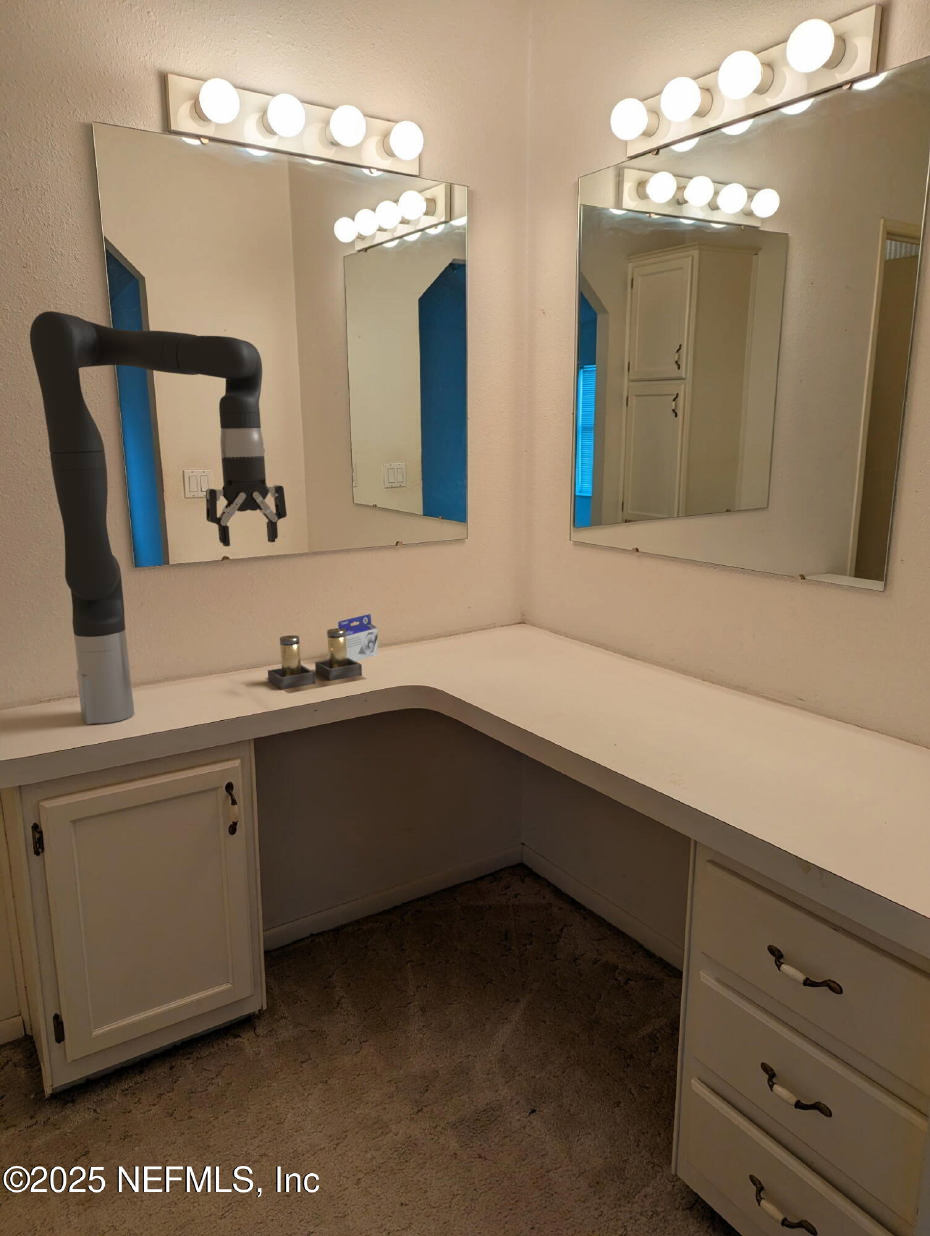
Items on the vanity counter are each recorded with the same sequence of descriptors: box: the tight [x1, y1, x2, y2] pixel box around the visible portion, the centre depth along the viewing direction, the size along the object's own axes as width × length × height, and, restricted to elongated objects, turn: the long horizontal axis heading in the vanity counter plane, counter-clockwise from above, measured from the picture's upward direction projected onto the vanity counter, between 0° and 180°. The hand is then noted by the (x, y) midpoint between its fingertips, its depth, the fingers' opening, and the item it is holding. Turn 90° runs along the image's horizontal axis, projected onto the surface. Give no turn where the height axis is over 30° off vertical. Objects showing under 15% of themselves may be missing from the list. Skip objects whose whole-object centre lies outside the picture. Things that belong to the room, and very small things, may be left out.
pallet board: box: [265, 658, 368, 694], centre depth 185 cm, size 19×14×4 cm
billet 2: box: [326, 627, 347, 669], centre depth 187 cm, size 4×4×10 cm
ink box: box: [337, 613, 378, 662], centre depth 200 cm, size 12×2×12 cm, turn 143°
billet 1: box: [279, 634, 302, 677], centre depth 182 cm, size 4×4×10 cm
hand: (249, 544), depth 156 cm, fingers open, 8 cm apart
